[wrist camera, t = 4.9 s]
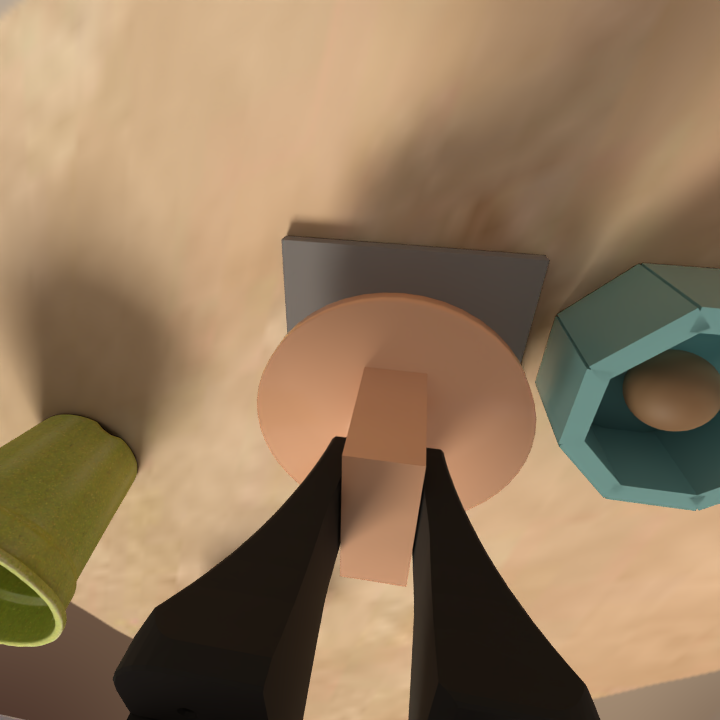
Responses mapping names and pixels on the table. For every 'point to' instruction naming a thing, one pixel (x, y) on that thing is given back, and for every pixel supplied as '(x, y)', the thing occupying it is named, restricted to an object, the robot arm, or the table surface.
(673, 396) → the ball
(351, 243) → the mat
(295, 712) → the robot arm
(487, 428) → the lid
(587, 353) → the bowl
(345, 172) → the table surface
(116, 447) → the plant pot
